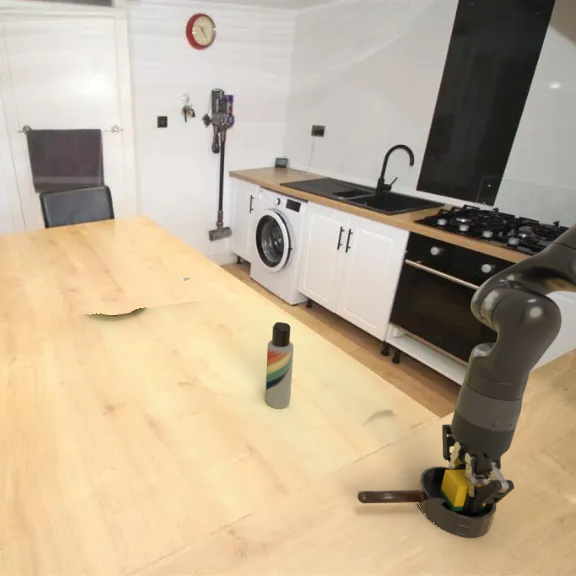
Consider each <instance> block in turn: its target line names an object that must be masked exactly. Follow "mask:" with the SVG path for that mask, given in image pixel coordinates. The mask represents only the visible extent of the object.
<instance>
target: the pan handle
mask: <svg viewBox="0 0 576 576" xmlns="http://www.w3.org/2000/svg"><path fill="white" fill-rule="evenodd" d="M356 496H357V497H356V498H357V500H358V502H359V503H361V504H409V503H417V502H423V501H424V500H425V495H424V493H423V492H422V491H420V490H418V489H404V490H403V489H402V490H359V492H358V493H357V495H356Z"/></svg>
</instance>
